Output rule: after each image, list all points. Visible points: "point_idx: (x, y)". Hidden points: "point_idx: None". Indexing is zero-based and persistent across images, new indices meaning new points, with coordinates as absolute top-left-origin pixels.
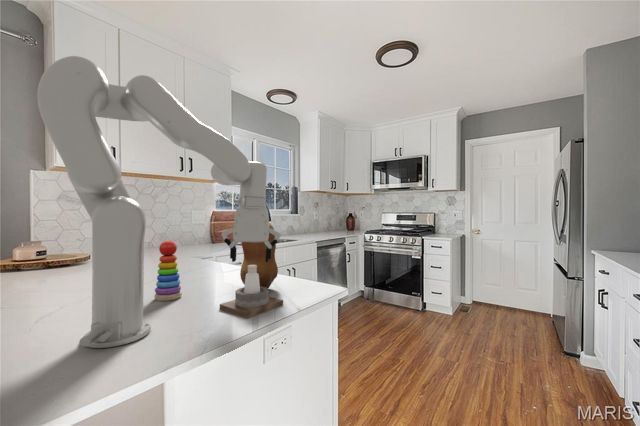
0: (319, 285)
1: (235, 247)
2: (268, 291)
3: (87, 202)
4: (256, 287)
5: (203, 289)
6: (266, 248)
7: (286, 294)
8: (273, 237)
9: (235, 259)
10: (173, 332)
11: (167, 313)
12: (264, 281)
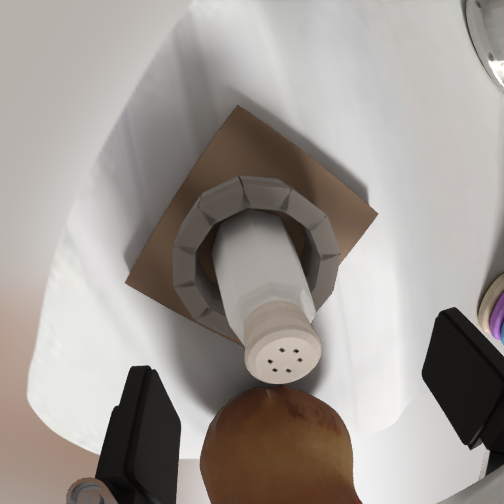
0: (92, 443)
1: (479, 436)
2: (174, 278)
3: None
4: (229, 255)
5: None
6: (157, 501)
7: None
8: None
9: (431, 358)
10: (425, 23)
11: (487, 175)
12: (238, 408)
